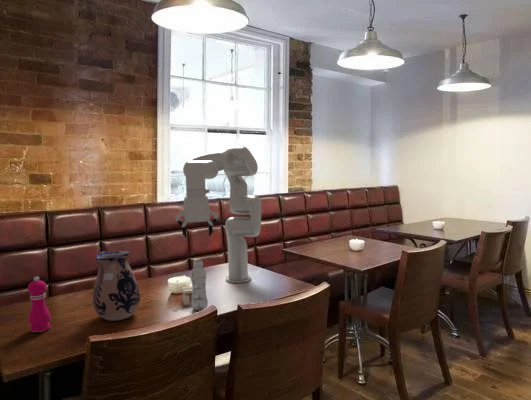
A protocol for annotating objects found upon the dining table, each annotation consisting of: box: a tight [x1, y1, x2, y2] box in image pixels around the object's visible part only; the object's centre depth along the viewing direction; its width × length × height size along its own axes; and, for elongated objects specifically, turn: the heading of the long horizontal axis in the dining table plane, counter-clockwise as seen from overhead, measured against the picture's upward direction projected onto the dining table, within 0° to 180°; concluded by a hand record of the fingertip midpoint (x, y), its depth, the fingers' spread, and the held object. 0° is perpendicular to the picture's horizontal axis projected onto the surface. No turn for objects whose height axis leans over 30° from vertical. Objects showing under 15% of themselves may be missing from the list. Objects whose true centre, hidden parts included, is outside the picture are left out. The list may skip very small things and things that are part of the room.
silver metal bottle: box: [190, 259, 209, 312], centre depth 170 cm, size 6×7×20 cm
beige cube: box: [182, 285, 193, 306], centre depth 179 cm, size 6×6×6 cm
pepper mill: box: [27, 276, 52, 332], centre depth 153 cm, size 7×7×20 cm
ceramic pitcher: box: [92, 250, 141, 322], centre depth 165 cm, size 18×21×25 cm
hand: (197, 235), depth 167 cm, fingers open, 9 cm apart
